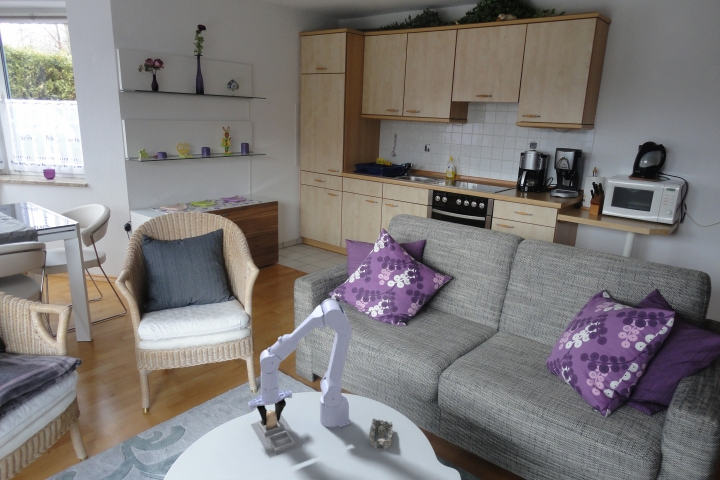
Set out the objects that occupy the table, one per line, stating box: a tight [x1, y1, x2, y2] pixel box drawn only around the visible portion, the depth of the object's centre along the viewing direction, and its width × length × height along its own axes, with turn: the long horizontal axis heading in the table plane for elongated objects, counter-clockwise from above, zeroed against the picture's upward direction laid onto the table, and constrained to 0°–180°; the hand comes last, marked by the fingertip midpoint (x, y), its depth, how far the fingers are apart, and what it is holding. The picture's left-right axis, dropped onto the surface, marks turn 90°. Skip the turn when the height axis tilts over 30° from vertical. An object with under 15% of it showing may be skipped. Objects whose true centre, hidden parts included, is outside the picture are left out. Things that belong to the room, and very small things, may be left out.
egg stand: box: [250, 414, 304, 458], centre depth 155 cm, size 11×18×2 cm, turn 31°
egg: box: [265, 409, 277, 430], centre depth 158 cm, size 4×4×6 cm
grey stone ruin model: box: [368, 418, 394, 450], centre depth 156 cm, size 11×8×4 cm
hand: (270, 421), depth 158 cm, fingers closed on egg, 4 cm apart
